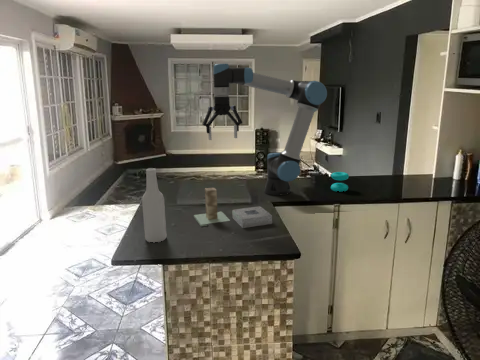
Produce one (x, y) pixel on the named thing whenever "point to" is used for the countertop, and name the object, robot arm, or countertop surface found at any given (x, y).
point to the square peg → (211, 203)
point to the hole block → (252, 217)
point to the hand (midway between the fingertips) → (223, 138)
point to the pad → (204, 221)
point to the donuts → (340, 176)
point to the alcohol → (153, 209)
